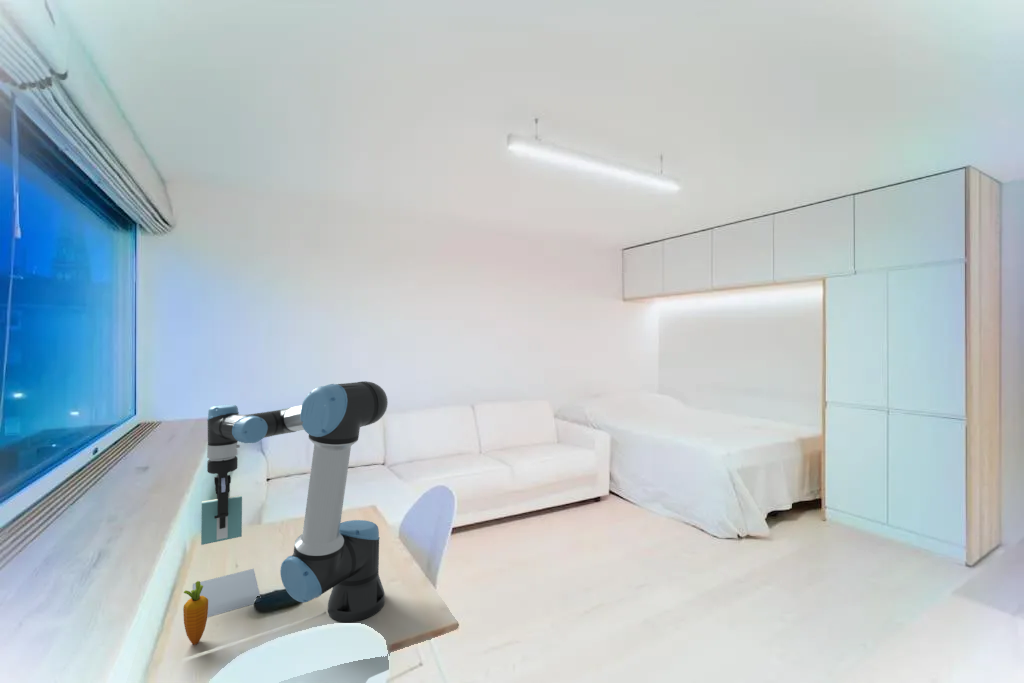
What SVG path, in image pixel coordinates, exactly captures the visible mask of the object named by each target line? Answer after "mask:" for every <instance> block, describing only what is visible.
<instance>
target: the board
mask: <svg viewBox="0 0 1024 683" xmlns="http://www.w3.org/2000/svg"><path fill="white" fill-rule="evenodd" d="M217 515H218V499H217V498H215V499H208V500H203V501H201V518H200V519H201V520H200V521H201V523H200V524H201V528H200V529H201V530H200V531H201V532H200V533H201V534H200V535H201V536H200V538H201V542H200V545H201V546H204V545H207V544H212V543H217V542H221V541H222V542H223V541H226V540H231V539H237V538H241V537H242V533H243V529H242V528H243V523H242V522H243V495H242V494H239V495H234V496H228V538H224V539H219V540H217V518H214V516H217Z"/></svg>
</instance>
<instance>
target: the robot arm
mask: <svg viewBox="0 0 1024 683" xmlns="http://www.w3.org/2000/svg"><path fill="white" fill-rule="evenodd" d="M388 404H389V403H388V396H387V393H386V392H385V390H384V388H382V387H381V386H380V385H379V384H378V383H377V384H376V383H374V382H373V381H357V382H345V383H338V384H337V383H331V384H326V385H322V386H318V387H315V388H314V389H312V390H311V391H310V392H309V393H308V394H307V395H306V396H305V398H304V399H303V401H302V404H300V405H296V406H292V407H287V408H282V409H277V410H271V411H262V412H257V413H256V412H255V413H250V414H240V412H239V409H238V408H239V407H238V406H237V405H235V404H220V405H213V406H211V407H209V408H208V411H207V412H208V413H207V419H206V421H207V445H206V446H207V447H206V451H207V452H206V453H207V454H206V458H207V459H208V460H207V463H206V464H207V466H206V468H207V470H206V472H207V473H209V474H211V475H216V474H217V475H216V476H214V489H215V495H216V499H218V515H217V516H214V518H217V540H219V539H224V538H228V497H229V493H230V492H231V491H230V489H231V488H230V487H231V486H230V484H231V479H232V478H231V475H230V474H229V473H230V472H234V471H236V470H237V469H238V456H237V455H238V449H239V448H241V445H240V444H238V442H239V443H241V444H256V443H259V442H260V441H262V440H263V439H266V438H270V437H273V436H274V437H275V436H279V435H284V434H291V433H295V432H300V431H303V430H304V431H305V432H306V434H308V439H309V440H310V441H311V442H312V444H313V445H314V446H313V453H312V460H311V466H310V467H311V468H310V473H309V474H310V475H309V481H308V482H309V483H308V491H307V496H306V497H307V499H306V507H305V513H304V520H303V530H302V534H300V535H299V536H297V538H296V539H295V540H294V541H295V542H294V546H293V552H292V553H293V554H292V555H289V556H287V557H286V558H285V559H284V560H283V561H282V562H281V564H280V565H281V566H280V579H281V582H282V584H283V587H284V589H285V591H286V592H287V594H288V595H289V596H290V597H291V598H292V599H293V600H295V601H297V602H299V603H307V602H309V601H312V600H314V599H316V598H319V597H321V596H322V595H323V594H325V593H326V592H328V591H330V590H331V592H330V595H329V599H328V601H327V602H328V603H327V614H328V615H329V617H330V618H332V619H333V620H334V621H338V622H342V623H349V622H350V623H351V622H359V621H362V620H366V619H369V618H370V617H372V616H374V615H376V614H377V613H378V612H379V611H381V610H382V609H383V607H384V605H385V602H386V601H385V600H386V599H385V598H386V596H385V590H384V587H383V584H382V580H381V578H380V575H379V574H380V573H379V568H380V567H379V564H380V562H379V561H380V560H379V558H380V533H379V532H380V531H379V526H378V524H376V523H375V522H373V521H369V520H363V519H362V520H361V519H353V520H346V521H343V522H342V514H343V507H344V500H345V491H346V487H347V486H346V485H347V479H348V478H347V477H348V470H349V462H350V455H351V449H352V445H354V444H356V443H357V442H359V441H358V440H359V436H360V430H361V427H366V426H370V425H372V424H375V423H376V422H378V421H379V420H381V419H382V418H383V416H384V415H385V413H386V412H387V408H388Z"/></svg>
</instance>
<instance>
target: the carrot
mask: <svg viewBox="0 0 1024 683" xmlns="http://www.w3.org/2000/svg"><path fill="white" fill-rule="evenodd" d="M200 582H201V580H200V581H199V580H197V581H196V582H195V583H196V589H195V590H193V589H192V590H191V591H189V590H184V591H183V594H186V595H188V596H189V597H190V598H189V599H188V600H187V601H186V602H185V603H184V605H183V609H182V610H183V624H184V630H185V633H186V637H187V639H188V640H189V642H190V643H191V644H192V645H193V646H194V645H197V644H199V642H200V640H201V639H202V638H203V634H204V631H205V629H206V625H207V620H208V617H207V616H208V599H207V598H206V597H205V596H200V593H201V591H202V588H203V586H202V585H201V584H200Z"/></svg>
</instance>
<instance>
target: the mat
mask: <svg viewBox="0 0 1024 683" xmlns="http://www.w3.org/2000/svg"><path fill="white" fill-rule="evenodd" d="M200 584H201V585H202V586H203V588H202V591H201V593H200V596H205V597H206V598H207V599H208V616H207V618H209V617H214V616H217V615H220V614H224V613H227V612H231V611H234V610H237V609H241V608H244V607H249V606H251V605H255V604H254V600H255V598H256V597H257V596H260V597H261V594H260V589H259V585H258V581H257V576H256V573H255V569H254V568H250V569H247V570H243V571H239V572H233V573H230V574H227V575H222V576H220V577H214V578H210V579H206V580H203V581H200ZM195 589H196V582H194V583H192V590H195Z"/></svg>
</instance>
